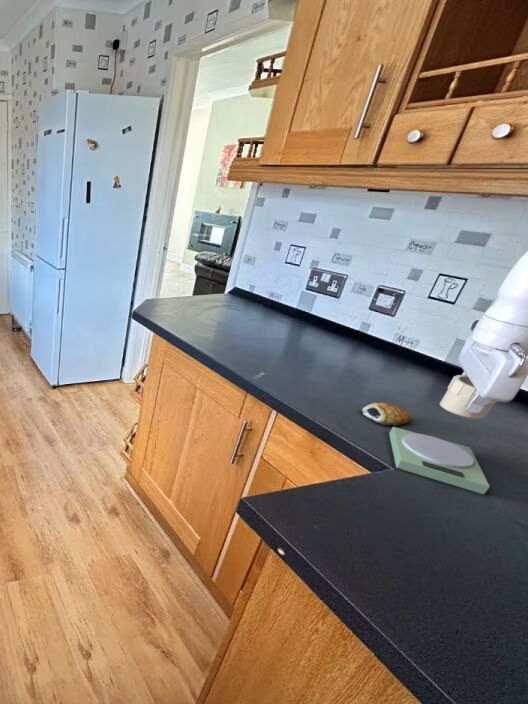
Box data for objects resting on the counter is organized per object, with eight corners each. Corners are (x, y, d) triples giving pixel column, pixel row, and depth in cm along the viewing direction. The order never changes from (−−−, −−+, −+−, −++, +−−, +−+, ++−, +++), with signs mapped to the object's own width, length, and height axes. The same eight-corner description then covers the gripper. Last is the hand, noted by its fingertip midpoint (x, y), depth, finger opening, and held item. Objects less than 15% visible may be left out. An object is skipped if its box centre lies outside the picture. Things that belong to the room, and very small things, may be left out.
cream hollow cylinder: (480, 408, 82) (498, 381, 79) (490, 423, 77) (509, 395, 74) (435, 397, 86) (451, 371, 83) (442, 411, 81) (458, 384, 78)
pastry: (392, 411, 104) (399, 398, 102) (417, 426, 98) (425, 413, 96) (357, 412, 103) (364, 399, 101) (380, 427, 97) (388, 414, 95)
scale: (465, 454, 89) (471, 445, 87) (483, 494, 78) (492, 484, 76) (388, 433, 95) (394, 424, 94) (396, 467, 84) (402, 457, 83)
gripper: (557, 359, 65) (505, 431, 71) (515, 324, 80) (475, 387, 87) (501, 349, 68) (456, 419, 75) (471, 317, 83) (435, 378, 90)
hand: (466, 401), depth 81 cm, fingers closed on cream hollow cylinder, 7 cm apart
